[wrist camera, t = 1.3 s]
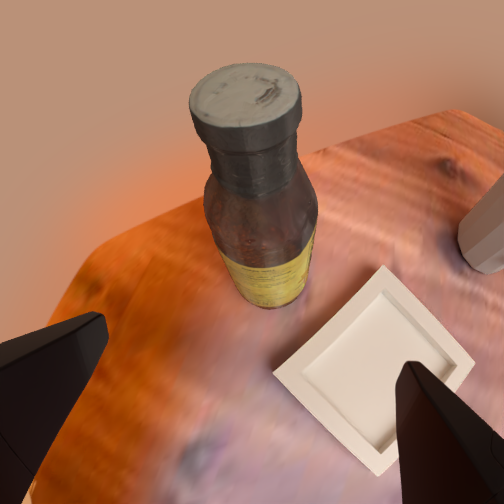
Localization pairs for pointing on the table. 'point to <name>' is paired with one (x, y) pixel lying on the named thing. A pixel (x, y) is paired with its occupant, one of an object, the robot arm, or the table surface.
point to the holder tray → (370, 366)
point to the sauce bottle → (256, 179)
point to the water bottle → (485, 231)
